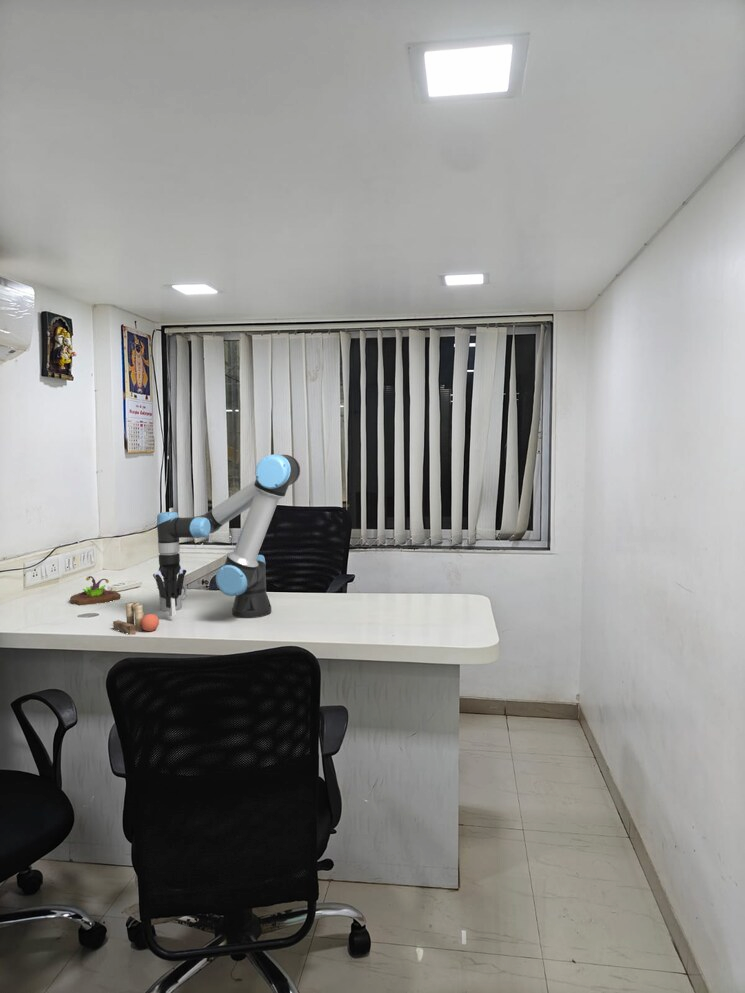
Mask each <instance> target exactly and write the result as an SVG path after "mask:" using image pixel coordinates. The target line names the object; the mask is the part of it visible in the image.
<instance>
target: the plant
mask: <svg viewBox="0 0 745 993" xmlns="http://www.w3.org/2000/svg"><path fill="white" fill-rule="evenodd" d="M90 579H92V580H91V583H92V585H90V586H89V587H88V586H86V589H85V588H82V590H83V591H82V592H78V593H76V594H73V595H72V596H70V598H69V599H70V600H69V601H70V603H69V604H71V605H75V606H88V605H89V606H90V605H97V603H98V604H106V603H111V602H110V601H112V602H114V601H119V600H121V599H120V598H121V596H122V595H121V593H119V592H118V591H116V590H107V589H106V585H105V584H106V583H107V584H109V583H110V581H109V579H108V578H107V579H106V578H102V579H100V580H98V581H97V582H96V580H95V578H94V577H93V576H91V575H90V576H86V578H85V580H86V581H90ZM102 581H105V584H104V585H102V586H100V584H101V582H102ZM113 600H114V601H113ZM105 602H106V603H105Z"/></svg>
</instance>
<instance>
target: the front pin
mask: <svg viewBox="0 0 745 993" xmlns="http://www.w3.org/2000/svg"><path fill="white" fill-rule="evenodd" d="M135 605H141V604H140V602H139V601H138V602H133V605H132V607H133V609H134V613H135ZM145 615H146V614H145V613H144V612H143V617H144V616H145Z"/></svg>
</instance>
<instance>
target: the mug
mask: <svg viewBox="0 0 745 993" xmlns="http://www.w3.org/2000/svg"><path fill="white" fill-rule="evenodd" d="M162 581H163V585H164V580H162ZM182 590H183V595H182V594H181V595H180V596H178V598H177V606H175V610H176V611H179V610H181V609H182V607H183V606H182V605H183V604H182V601H183V600H186V598H187V595H188V593H187V592H188V591H187V586H186V585H185V584H184V583H183V587H182ZM158 593H159V592H158ZM158 596H159V598H158V600H159V611H161V610H162V611H161V612H168V608H167V607H166V599H165V598H161V597H160V593H159V595H158ZM171 598H172V597H171ZM178 609H179V610H178Z"/></svg>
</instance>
